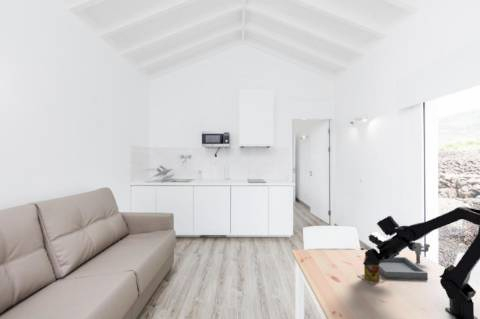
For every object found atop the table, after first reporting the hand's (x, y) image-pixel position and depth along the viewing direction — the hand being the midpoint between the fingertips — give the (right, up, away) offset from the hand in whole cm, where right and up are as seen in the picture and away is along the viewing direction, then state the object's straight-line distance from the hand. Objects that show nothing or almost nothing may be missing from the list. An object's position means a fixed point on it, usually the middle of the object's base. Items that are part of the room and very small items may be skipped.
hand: (369, 261), depth 113 cm
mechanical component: (+34, -7, +16) cm, 39 cm away
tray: (+17, -7, +8) cm, 20 cm away
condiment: (0, -8, 0) cm, 8 cm away
